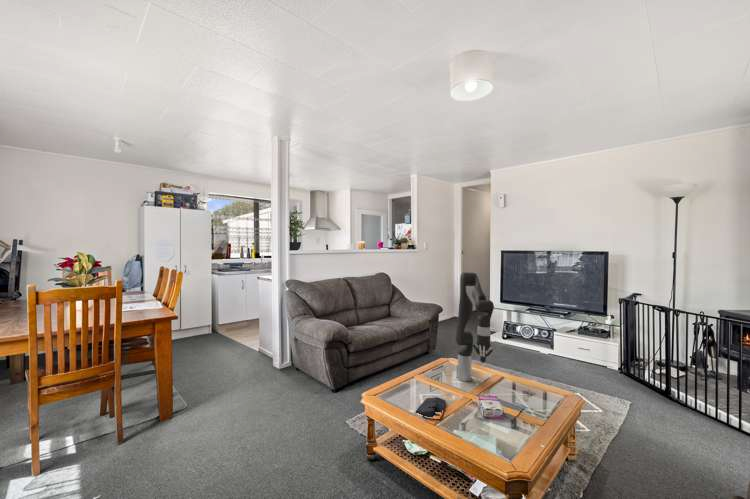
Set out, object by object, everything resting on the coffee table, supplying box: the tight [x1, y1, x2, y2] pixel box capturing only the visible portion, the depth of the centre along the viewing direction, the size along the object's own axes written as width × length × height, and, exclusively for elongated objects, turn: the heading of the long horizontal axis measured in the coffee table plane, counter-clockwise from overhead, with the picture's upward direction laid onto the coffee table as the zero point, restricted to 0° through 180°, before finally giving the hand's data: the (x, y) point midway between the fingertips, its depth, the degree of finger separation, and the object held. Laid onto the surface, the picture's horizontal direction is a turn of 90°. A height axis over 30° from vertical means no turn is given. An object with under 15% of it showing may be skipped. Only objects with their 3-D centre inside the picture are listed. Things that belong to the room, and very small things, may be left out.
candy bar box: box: [476, 394, 505, 419], centre depth 183 cm, size 11×5×16 cm
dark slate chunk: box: [414, 396, 447, 417], centre depth 185 cm, size 15×22×5 cm
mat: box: [497, 398, 525, 421], centre depth 186 cm, size 15×18×1 cm
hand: (483, 362), depth 194 cm, fingers closed
